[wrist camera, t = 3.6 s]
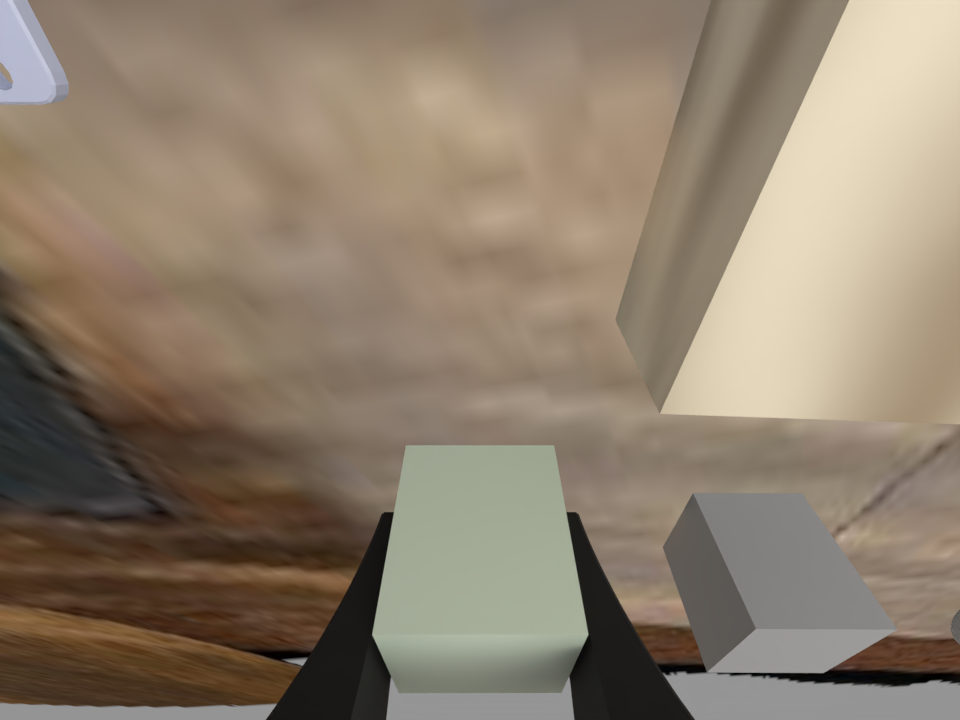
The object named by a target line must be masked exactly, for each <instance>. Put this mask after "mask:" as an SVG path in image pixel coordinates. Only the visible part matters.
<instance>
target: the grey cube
mask: <svg viewBox="0 0 960 720" xmlns="http://www.w3.org/2000/svg"><path fill="white" fill-rule="evenodd" d="M663 549H664V552H665V555H666V558H667V561H668V564H669V566H670V569H671V572H672V575H673V578H674V581H675V583H676V586H677V589H678V592H679V595H680V598H681V600H682V603H683V606H684V609H685V612H686V615H687V617H688V620H689V623H690V626H691V629H692V631H693V634H694V637H695V640H696V643H697V646H698V648H699V651H700V654H701V657H702V660H703V663H704V665H705V668H706V671H707V672H718V673H824V672H826V671H828V670H830V669H831V668H833V667H835V666H836V665H838V664H840V663H842V662H843V661H845V660H847V659H848V658H850V657H852V656H854V655H855V654H857V653H859V652H860V651H862V650H864V649H866V648H867V647H869V646H871V645H872V644H874V643H876V642H878V641H879V640H881V639H883V638H884V637H886V636H888V635H889V634H891V633H893V632H895V631H896V630H898V629H897V628H896V627H895V625H894V624H893V622H892V621H891V619H890V618H889V617H888V615H887V614H886V612H885V611H884V609H883V608H882V607H881V605H880V604H879V602H878V601H877V599H876V598H875V597H874V595H873V594H872V592H871V591H870V589H869V588H868V587H867V585H866V584H865V582H864V581H863V579H862V578H861V577H860V575H859V574H858V572H857V571H856V569H855V568H854V567H853V565H852V564H851V562H850V561H849V559H848V558H847V557H846V555H845V554H844V552H843V551H842V549H841V548H840V547H839V545H838V544H837V542H836V541H835V539H834V538H833V537H832V535H831V534H830V532H829V531H828V530H827V528H826V527H825V525H824V524H823V522H822V521H821V520H820V518H819V517H818V515H817V514H816V512H815V511H814V510H813V508H812V507H811V505H810V504H809V502H808V501H807V500H806V498H805V497H804V495H803V494H802V493H693V494H692V496H691V498H690V499H689V501H688V503H687V505H686V507H685V508H684V510H683V512H682V514H681V515H680V517H679V519H678V521H677V523H676V524H675V526H674V528H673V530H672V532H671V533H670V535H669V537H668V539H667V540H666V542H665V544H664V546H663Z"/></svg>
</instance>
